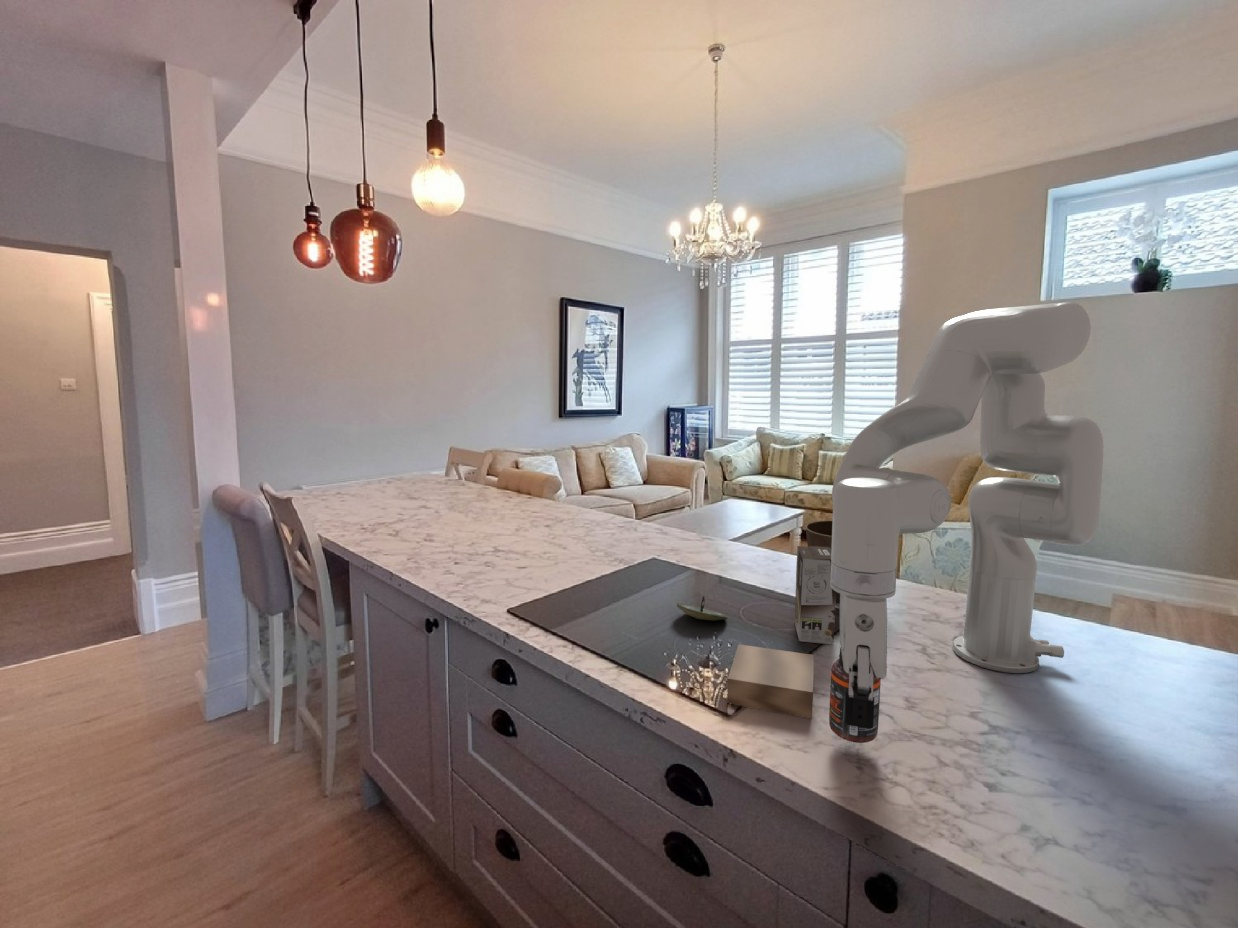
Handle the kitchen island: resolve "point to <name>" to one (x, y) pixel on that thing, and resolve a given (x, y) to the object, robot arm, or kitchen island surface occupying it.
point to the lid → (701, 612)
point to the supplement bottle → (839, 701)
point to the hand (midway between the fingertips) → (857, 709)
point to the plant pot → (820, 538)
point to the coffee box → (814, 595)
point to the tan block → (772, 680)
